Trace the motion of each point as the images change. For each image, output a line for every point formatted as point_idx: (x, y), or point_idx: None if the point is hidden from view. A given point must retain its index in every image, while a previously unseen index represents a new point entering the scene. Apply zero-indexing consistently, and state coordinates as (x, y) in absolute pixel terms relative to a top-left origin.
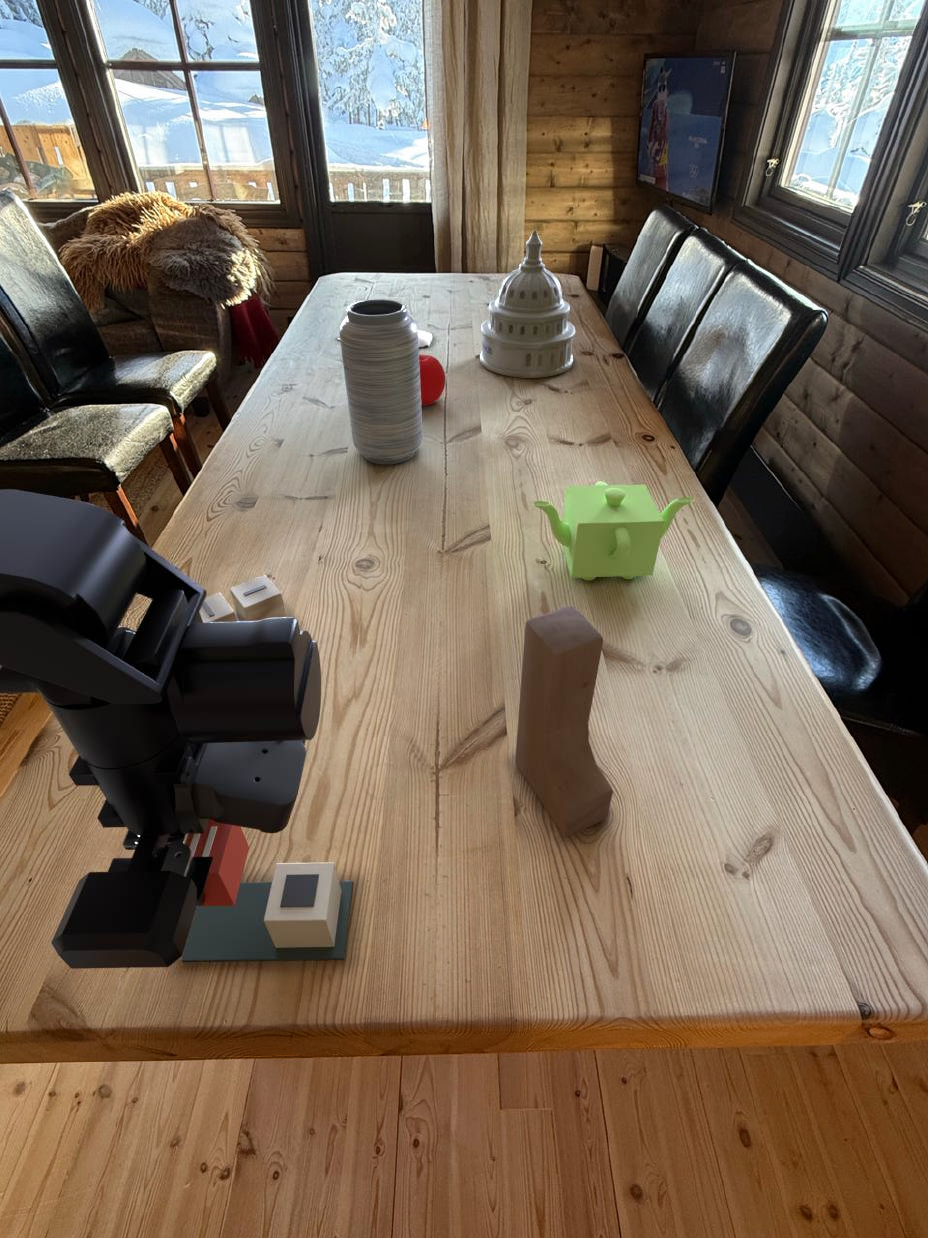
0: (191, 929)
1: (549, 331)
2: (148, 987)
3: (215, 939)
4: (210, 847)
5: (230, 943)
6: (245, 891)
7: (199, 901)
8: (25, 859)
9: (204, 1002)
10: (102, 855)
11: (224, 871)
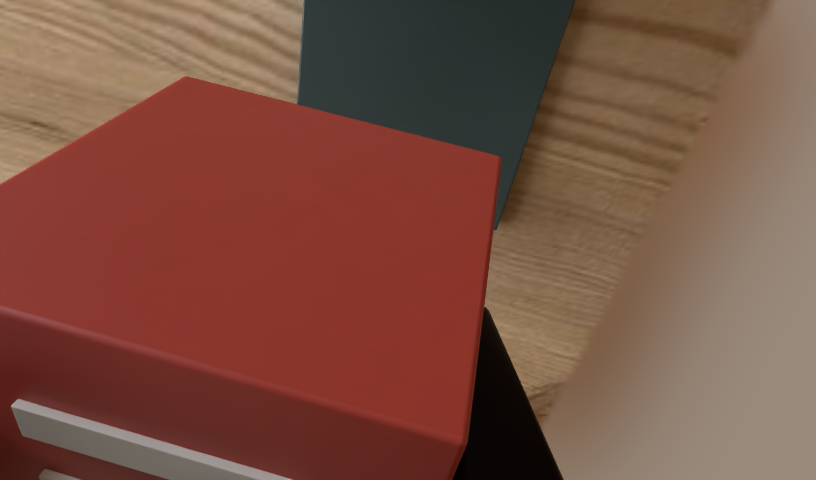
0: None
1: None
2: (531, 288)
3: None
4: (201, 460)
5: (486, 109)
6: (328, 63)
7: (520, 384)
8: None
9: (623, 174)
10: None
11: (400, 326)
